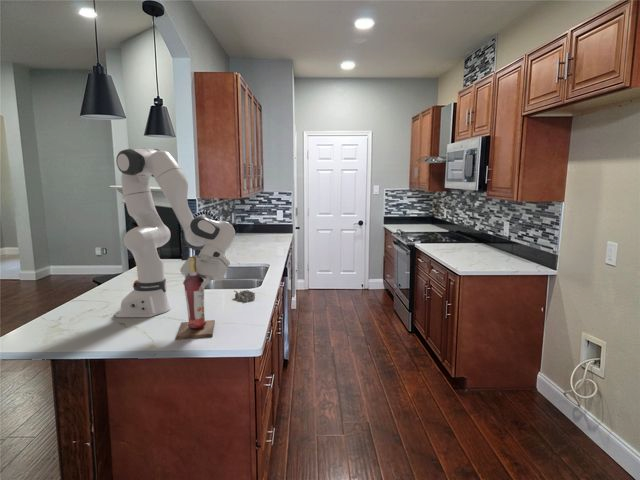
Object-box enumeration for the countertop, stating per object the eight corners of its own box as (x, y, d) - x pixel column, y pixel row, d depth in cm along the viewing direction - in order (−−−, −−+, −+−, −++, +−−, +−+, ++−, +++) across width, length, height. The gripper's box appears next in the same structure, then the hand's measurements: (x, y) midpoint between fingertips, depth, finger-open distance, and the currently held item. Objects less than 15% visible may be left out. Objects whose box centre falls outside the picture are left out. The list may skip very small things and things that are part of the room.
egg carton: (233, 298, 198) (232, 290, 197) (246, 295, 202) (245, 287, 202) (243, 302, 190) (243, 294, 189) (257, 299, 194) (256, 291, 194)
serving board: (176, 339, 145) (175, 336, 145) (181, 325, 159) (181, 322, 159) (212, 336, 147) (212, 333, 147) (214, 322, 162) (214, 320, 162)
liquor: (200, 331, 149) (195, 259, 145) (183, 330, 151) (178, 259, 146) (210, 324, 156) (205, 255, 152) (193, 323, 158) (188, 255, 153)
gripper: (187, 250, 160) (169, 278, 153) (225, 254, 150) (207, 285, 143) (196, 259, 164) (179, 287, 157) (233, 263, 155) (216, 294, 148)
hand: (193, 286), depth 150 cm, fingers closed on liquor, 7 cm apart
